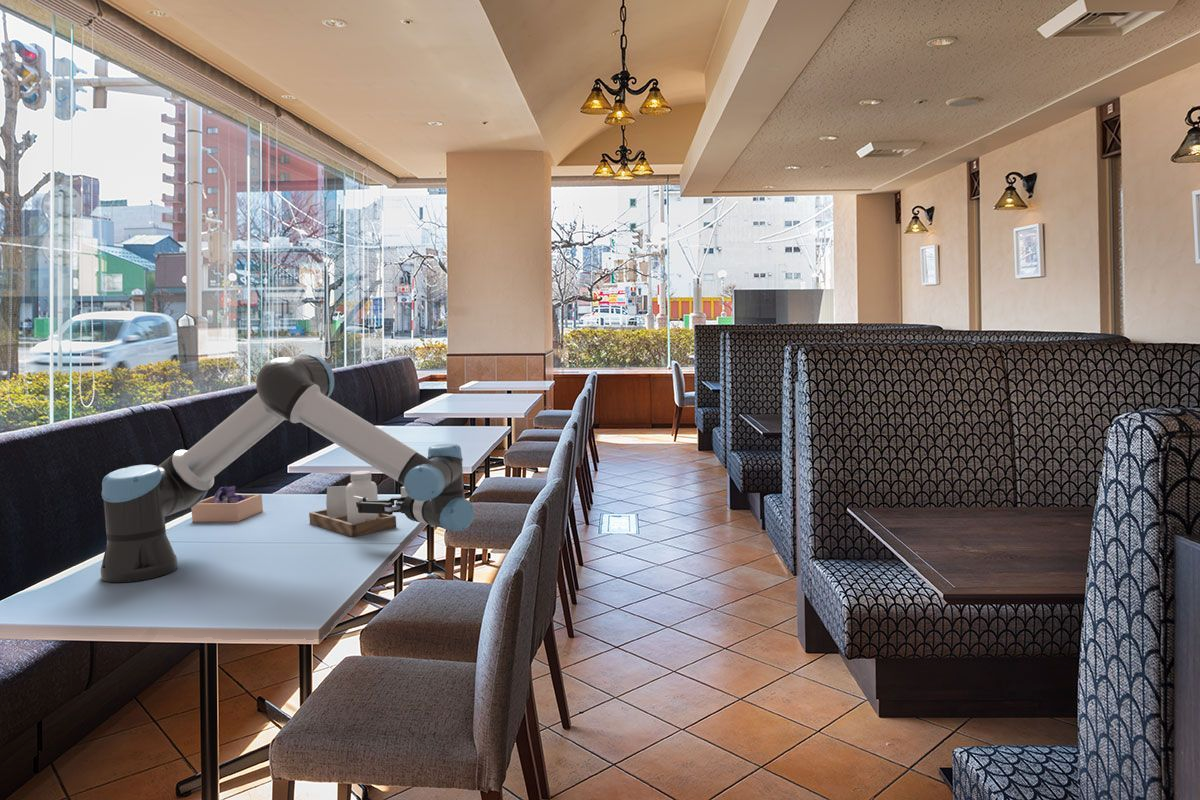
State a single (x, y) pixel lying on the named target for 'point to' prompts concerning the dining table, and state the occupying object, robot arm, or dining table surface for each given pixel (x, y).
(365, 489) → the pill bottle
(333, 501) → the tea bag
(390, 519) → the slot rack
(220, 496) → the flower
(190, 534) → the dining table surface
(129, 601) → the dining table surface
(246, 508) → the flower planter
